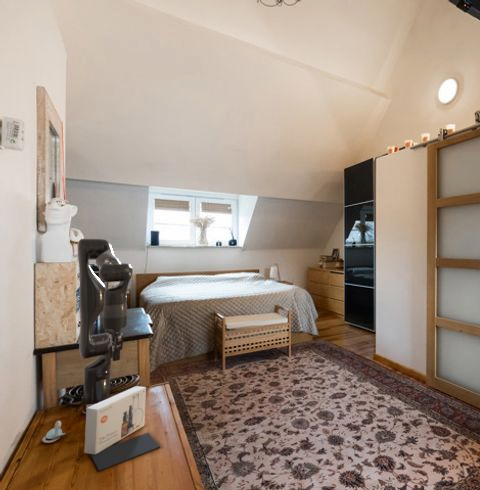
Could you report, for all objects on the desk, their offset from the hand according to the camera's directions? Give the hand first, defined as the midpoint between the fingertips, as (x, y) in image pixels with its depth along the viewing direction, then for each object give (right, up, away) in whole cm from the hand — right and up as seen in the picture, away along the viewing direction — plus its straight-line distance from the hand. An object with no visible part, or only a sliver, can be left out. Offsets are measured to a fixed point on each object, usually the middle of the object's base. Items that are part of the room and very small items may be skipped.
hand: (114, 358), depth 135 cm
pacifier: (-20, -29, -4) cm, 35 cm away
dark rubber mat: (+12, -30, -10) cm, 34 cm away
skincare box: (+4, -29, -3) cm, 30 cm away
